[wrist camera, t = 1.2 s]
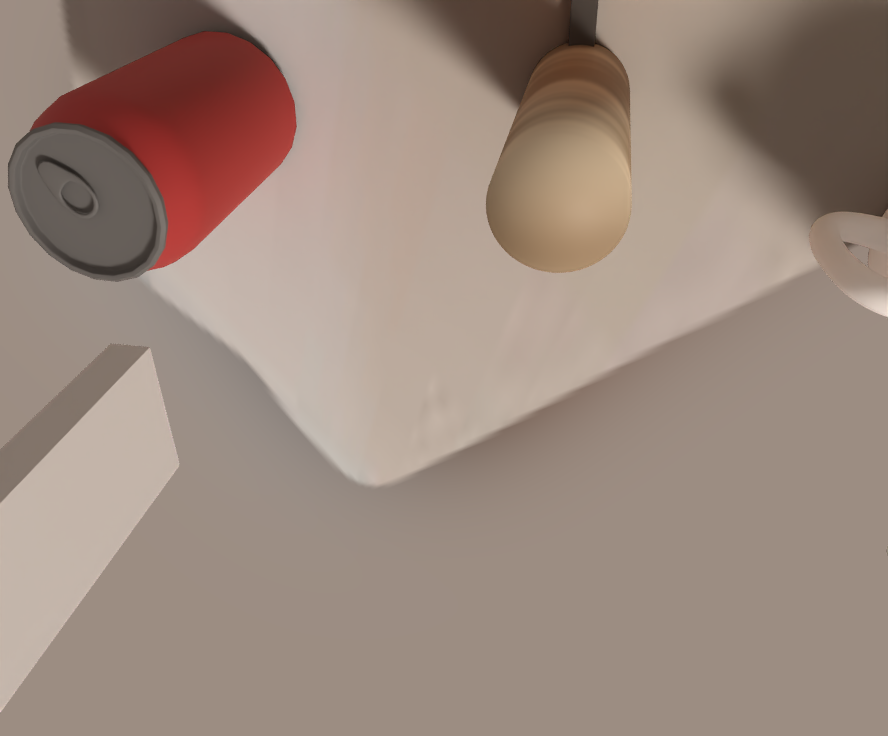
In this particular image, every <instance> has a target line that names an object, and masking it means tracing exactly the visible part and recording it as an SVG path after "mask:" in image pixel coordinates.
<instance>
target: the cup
mask: <svg viewBox="0 0 888 736" xmlns="http://www.w3.org/2000/svg"><path fill="white" fill-rule="evenodd" d="M809 241H810V246H811V250H812V252H813V254H814V256H815V258H816V260H817V262H818V263H819V265H820V266H821V268H822V269H823V270H824V272H825V273H826V274H827V275H828V276H829V278H830V279H831V280H832V281H833V282H834V283H835V284H836V286H838V287H839V288H840V289H841V290H842V291H843V292H844V293H845V294H847V295H848V296H849V297H850V298H851V299H853V300H854V301H856V302H857V303H859V304H860V305H862V306H864V307H866V308H868V309H870V310H872V311H874V312H876V313H878V314H881V315H883V316H886V318H887V319H888V209H887V210H886V212H885V213H884V215H883V216H882V217H879V216H874V215H869V214H864V213H857V212H833V213H828V214H826V215H823V216H822V217H820V218H818V219H817V220H816V221H815V222H814V224H813V225H812V227H811V230H810V233H809ZM844 242H849V243H853V244H857V245H860V246H864V247H867V248H869V253H868V267H867V266H865V265H864V264H863V263H862V262H860V261H859V260H858V259H857V258H856V257H855V256H854V255H853V254H852V253H851V252H850V251H849V249H848V248H847V247H846V245H845V244H844Z"/></svg>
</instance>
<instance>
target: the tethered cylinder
mask: <svg viewBox="0 0 888 736" xmlns="http://www.w3.org/2000/svg"><path fill="white" fill-rule="evenodd" d="M597 9H598V0H572V2H571V16H570V31H569V43H567V44H563V45H561V46H559V47H557V48H555V49H553V50H552V51H550V52H549V53H547V54H546V55H545V56H544V57H543V58H542V59H541V60H540V61H539V63H538V64H537V66H536V67H535V69H534V71H533V73H532V75H531V77H530V80H529V83H528V85H527V88H526V90H525V93H524V96H523V98H522V101H521V103H520V106H519V109H518V111H517V114H516V116H515V119H514V122H513V124H512V127H511V129H510V132H509V135H508V137H507V140H506V142H505V145H504V148H503V150H502V153H501V155H500V158H499V161H498V163H497V166H496V169H495V171H494V174H493V176H492V179H491V182H490V184H489V187H488V192H487V198H486V213H487V218H488V222H489V225H490V228H491V231H492V233H493V235H494V237H495V238H496V240H497V241H498V243H499V244H500V245H501V247H502V248H503V249H504V250H505V251H506V252H507V253H508V254H509V255H510V256H512V257H513V258H514V259H516V260H517V261H519V262H520V263H522V264H524V265H526V266H528V267H531V268H534V269H537V270H541V271H545V272H553V273H563V272H572V271H576V270H580V269H583V268H586V267H589V266H591V265H593V264H595V263H597V262H598V261H600V260H601V259H603V258H604V257H606V256H607V255H608V254H609V253H610V252H611V251H612V250H613V249H614V248H615V247H616V246H617V245H618V243H619V242H620V240H621V239H622V237H623V235H624V233H625V231H626V229H627V226H628V223H629V220H630V215H631V204H632V203H631V137H630V87H629V80H628V76H627V73H626V70H625V68H624V67H623V65H622V63H621V62H620V60H619V59H618V58H617V57H616V56H615V55H614V54H613V53H612V52H611V51H609V50H608V49H606V48H604V47H603V46H600V45H598V44H595V32H596V21H597Z"/></svg>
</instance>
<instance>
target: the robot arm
mask: <svg viewBox="0 0 888 736" xmlns="http://www.w3.org/2000/svg"><path fill="white" fill-rule="evenodd" d="M178 466H179V461H178V457H177V453H176V449H175V445H174V441H173V437H172V433H171V429H170V425H169V421H168V417H167V414H166V409H165V405H164V401H163V397H162V394H161V390H160V386H159V382H158V378H157V374H156V370H155V366H154V362H153V358H152V354H151V351H150V347H141V346H131V345H121V344H110V345H109V346H108V347H107V348H106V349H105V350H104V351H103V352H102V353H101V354H100V355H98V356H97V357H96V358H95V359H94V360H93V361H92V362H91V363H90V364H89V365H88V366H87V367H86V368H85V369H84V370H83V371H82V372H81V373H80V374H79V375H78V376H77V377H76V378H75V379H73V380H72V381H71V382H70V383H69V384H68V385H67V386H66V387H65V388H64V389H63V390H62V391H61V392H60V393H59V394H58V395H57V396H56V397H55V398H54V399H52V400H51V402H49V403H48V404H47V405H46V406H45V407H44V408H43V409H42V410H41V411H40V412H39V413H38V414H37V415H36V416H35V417H34V418H33V419H32V420H31V421H29V422H28V423H27V424H26V425H25V426H24V427H23V428H22V429H21V430H20V431H19V432H18V433H17V434H16V435H15V436H14V437H13V438H12V439H11V440H10V441H9V442H8V443H6V444H5V445H4V446H3V447H2V448H1V449H0V712H1V711H2V709H3V708H4V707H5V705H6V704H7V702H8V701H9V700H10V698H11V697H12V696H13V694H14V693H15V692H16V690H17V689H18V687H19V686H20V685H21V683H22V682H23V680H24V679H25V678H26V676H27V675H28V673H29V672H30V671H31V669H32V668H33V666H34V665H35V664H36V662H37V661H38V660H39V658H40V657H41V656H42V654H43V653H44V651H45V650H46V649H47V647H48V646H49V645H50V643H51V642H52V640H53V639H54V638H55V636H56V635H57V634H58V632H59V631H60V629H61V628H62V627H63V625H64V624H65V623H66V621H67V620H68V618H69V617H70V616H71V614H72V613H73V611H74V610H75V609H76V607H77V606H78V605H79V603H80V602H81V600H82V599H83V598H84V596H85V595H86V593H87V592H88V591H89V589H90V588H91V587H92V585H93V584H94V582H95V581H96V580H97V578H98V577H99V575H100V574H101V573H102V571H103V570H104V569H105V567H106V566H107V564H108V563H109V562H110V560H111V559H112V557H113V556H114V555H115V554H116V552H117V551H118V549H119V548H120V546H121V545H122V544H123V542H124V541H125V540H126V538H127V537H128V536H129V534H130V533H131V531H132V530H133V529H134V527H135V526H136V525H137V523H138V521H139V520H140V519H141V517H142V516H143V515H144V513H145V512H146V511H147V509H148V508H149V507H150V505H151V504H152V502H153V501H154V500H155V498H156V497H157V495H158V494H159V493H160V491H161V490H162V489H163V487H164V486H165V485H166V483H167V482H168V480H169V479H170V478H171V476H172V475H173V473H174V472H175V471H176V469H177V468H178ZM886 552H887V554H888V547H887V550H886Z"/></svg>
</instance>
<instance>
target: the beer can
mask: <svg viewBox="0 0 888 736" xmlns="http://www.w3.org/2000/svg"><path fill="white" fill-rule="evenodd" d="M296 127H297V126H296V115H295V104H294V100H293V97H292V95H291V92H290V90H289V87H288V85H287V82H286V79H285V78H284V76H283V75H282V74H281V72H280V71H279V70H278V68H277V67H276V65H275V64H274V63H273V61H272V60H271V59H270V58H269V57H268V56H267V55H265V54H264V53H263V52H262V51H260V50H259V49H258V48H257V47H255V46H254V45H253V44H252V43H250V42H248V41H246V40H243V39H241V38H239V37H236V36H234V35H231V34H229V33H223V32H207V31H203V32H200V33H197V34H194V35H191V36H188V37H185V38H183V39H180V40H178V41H176V42H174V43H172V44H170V45H168V46H166V47H163V48H161V49H159V50H157V51H155V52H153V53H151V54H149V55H147V56H144V57H142V58H140V59H138V60H136V61H134V62H132V63H130V64H128V65H125V66H123V67H121V68H119V69H117V70H115V71H113V72H111V73H108V74H106V75H104V76H102V77H100V78H98V79H96V80H94V81H92V82H89V83H87V84H85V85H83V86H81V87H79V88H77V89H75V90H72V91H70V92H68V93H66V94H64V95H62V96H60V97H59V98H58V99H57V100H56V101H55V102H54V103H53V104H52V105H51V106H50V107H48V108H47V109H46V110H45V111H44V112H43V113H42V114H41V115H40V117H39V118H38V119H37V120H36V121H35V122H34V124H33V126H32V128H31V130H30V132H29V133H27V134H26V135H25V136H24V137H23V138H22V139H21V140H20V141H19V142H18V143H17V144H16V145H15V148H14V150H13V153H12V156H11V158H10V161H9V163H8V188H9V191H10V194H11V198H12V200H13V204H14V207H15V210H16V212H17V214H18V216H19V218H20V219H21V221H22V223H23V224H24V226H25V227H26V229H27V231H28V232H29V234H30V235H31V236H32V238H34V240H35V241H36V242H37V243H38V244H39V245H40V246H41V247H42V248H43V249H44V250H45V251H46V252H47V253H48V254H49V255H50V256H52V257H53V258H55V259H56V260H57V261H59V262H60V263H62V264H63V265H65V266H66V267H68V268H69V269H71V270H73V271H75V272H78V273H80V274H83V275H85V276H88V277H90V278H93V279H97V280H107V281H115V282H118V281H123V280H128V279H132V278H137V277H139V276H140V275H142V274H143V273H144V272H146V271H148V270H152V269H157V268H162V267H165V266H167V265H169V264H171V263H174V262H176V261H177V260H178V259H180V258H181V257H183V256H184V255H186V254H187V253H189V252H190V251H192V250H193V249H194V248H195V247H196V246H197V245H198V244H199V243H200V242H201V241H202V240H203V239H204V238H205V237H206V236H207V235H208V234H209V233H211V232H212V231H213V230H214V229H215V228H216V227H217V226H218V225H219V224H220V223H221V222H222V221H223V220H224V219H225V218H226V217H227V216H228V215H229V214H230V213H231V212H232V211H233V210H234V209H235V208H236V207H237V206H238V205H239V204H240V203H241V202H242V201H243V200H244V199H246V198H247V197H248V196H249V195H250V194H251V193H252V192H253V191H254V190H255V189H256V188H257V187H258V186H259V185H260V184H261V183H262V182H263V181H264V180H265V179H266V178H267V177H268V176H269V175H270V174H271V173H272V172H273V171H274V170H275V169H276V168H277V167H278V166H279V165H280V164H281V163H282V162H283V160H284V159H285V157H286V156H287V154H288V152H289V151H290V149H291V148H292V144H293V140H294V135H295V131H296Z"/></svg>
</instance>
